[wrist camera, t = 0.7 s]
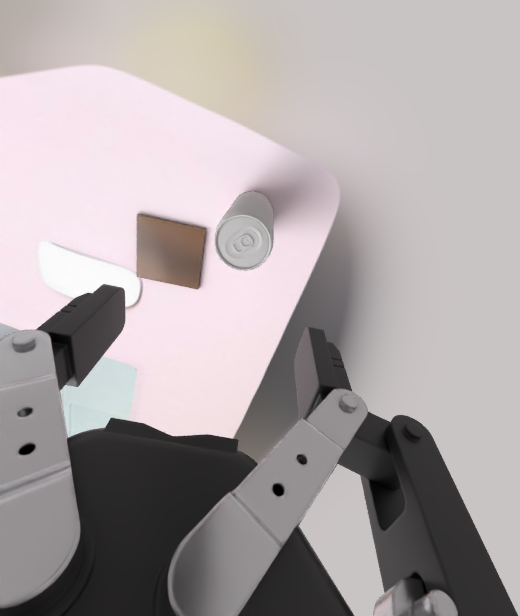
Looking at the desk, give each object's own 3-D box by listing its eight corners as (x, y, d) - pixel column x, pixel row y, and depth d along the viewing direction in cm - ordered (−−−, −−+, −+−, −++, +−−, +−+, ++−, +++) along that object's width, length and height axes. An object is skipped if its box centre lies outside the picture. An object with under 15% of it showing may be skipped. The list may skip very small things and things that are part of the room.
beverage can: (280, 219, 34) (284, 252, 23) (246, 241, 35) (236, 282, 25) (257, 181, 32) (250, 199, 21) (222, 206, 33) (200, 235, 23)
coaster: (138, 213, 34) (136, 214, 34) (205, 228, 34) (205, 229, 34) (137, 275, 38) (136, 276, 37) (198, 288, 38) (198, 289, 38)
